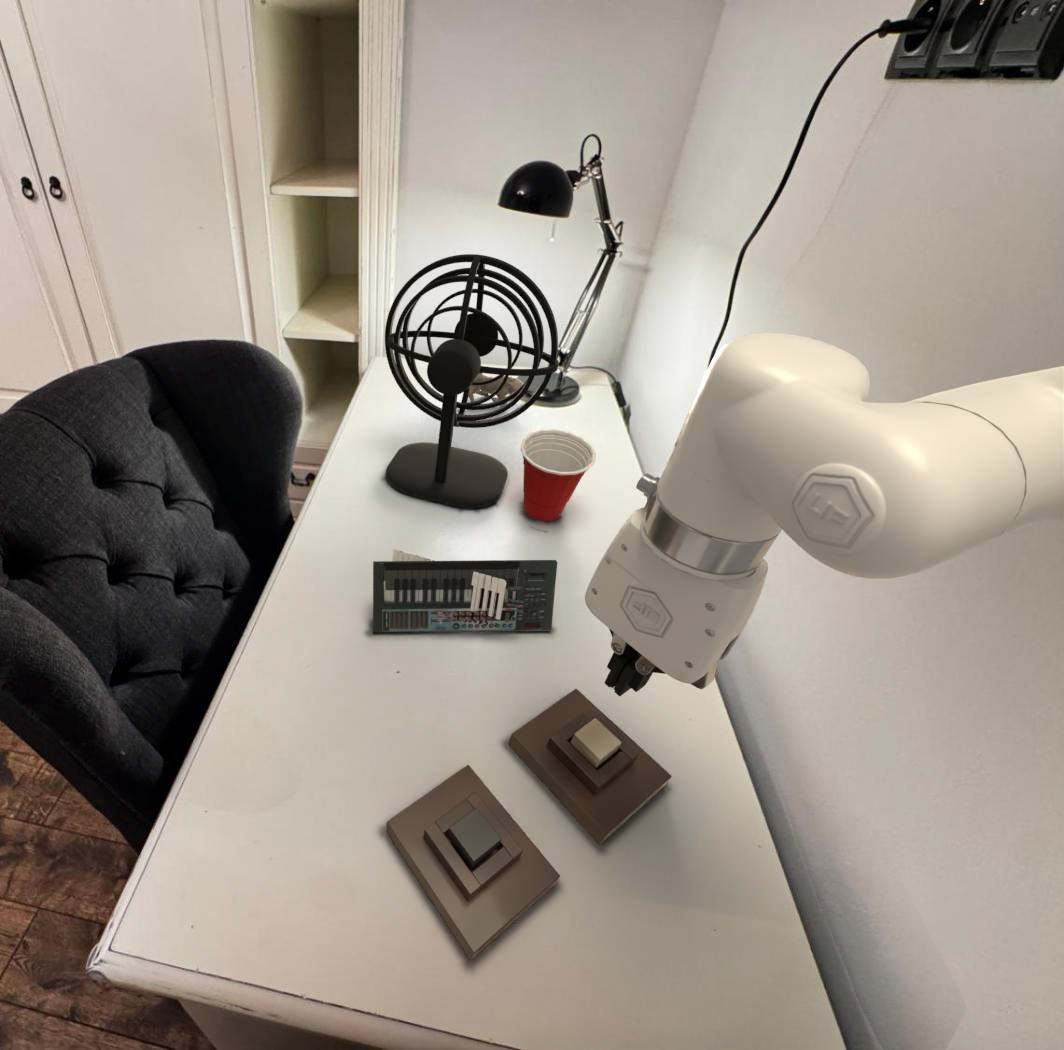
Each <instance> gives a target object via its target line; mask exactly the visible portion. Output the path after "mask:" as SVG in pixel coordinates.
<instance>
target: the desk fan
mask: <svg viewBox="0 0 1064 1050" xmlns="http://www.w3.org/2000/svg"><path fill="white" fill-rule="evenodd" d="M458 263H471V264H470V267H461V268H457V269H453V270H450V271H447V272H444V273H442V274H440V275H438V276H436V277H435V278H433V279H432V280H430V282H428V283H427V284H426V285H425V286H424V287H422V289H421V290H419V291H418V292H417V293H416V294H415V295H414V296H413V297H412V298H411V299H410V300H409V302H408V303H407V304H406V306H405V307H404V309H403V310H402V312H401V313H400V316H399V318H398V321H397V324H396V327H395V331H394V332H393V327H394V326H393V325H394V321H395V316H396V313H397V310H398V308H399V306H400V303H401V302H402V300H403V299H404V296H405V295H406V294H407V292H408V291H409V289H411V287H412V286H413V285H414V284H415V283H416V282H417V281H418V280H419V279H421V278H422V277H423V276H425V275H426V274H428V273H430V272H432V271H434V270H436V269H439V268H441V267H444V266H449V265H453V264H458ZM486 266H490V267H494V268H496V269H499V270H501V271H504V272H506V273H507V274H509V275H510V276H511V277H513V278H515V279H516V280H518V281H519V282H520V283H521V284H522V285H524V286H525V287H526V288H527V290H529V292H531V294H532V295H533V296H534V298H535V299H536V300H537V302H538V303H539V306H540V307H541V309H542V311H543V314H544V316H545V319H546V322H547V326H548V328H549V334H550V354H549V353H547V352H545V351H544V348H545V332H544V325H543V321H542V319H541V315H540V312H539V310H538V308H537V306H536V304H535V302H534V300H533V299H532V298H531V296H529V294H528V292H527V291H525V290H524V289H523V287H522V286H520V285H519V284H518V283H517V282H516V281H514V280H513V279H511V278H509V277H508V276H506V275H504V274H502V273H501V272H498V271H495V270H491V269H487V268H486ZM486 277H488V278H486ZM489 278H491V279H489ZM492 279H493V280H492ZM495 280H497V281H499V282H500V283H499V282H497V281H495ZM453 283H465V287H464V288H465V289H462V290H458V291H456V292H454V293H452V294H450V295H448V296H447V297H446V298H444V299H443V300H442V301H441V302H440V303H439V304H438V305H437V306H436V307H435V309H434V310H433V312H432V313H431V314H430V315H428V316H427V317H426V318H425V319H424V320H423V321H422V323H421V324H420V325H419V326H418V327H417V329H416V330H409V326H410V321H411V317H412V315H413V312H414V310H415V308H416V306H417V304H418V302H419V301H420V300H421V298H422V297H423V296H424V295H426V293H428V292H430V291H432V290H434V289H436V288H439V287H441V286H444V285H447V284H453ZM501 283H503V284H504V285H505V286H504V285H502V284H501ZM475 284H477V288H474V285H475ZM506 286H507V287H509V288H510V289H512V291H511V290H510V289H508V288H507V287H506ZM485 287H488V288H490V289H493V290H494V291H496V292H498V293H499V294H501V295H503V296H504V297H505V298H506V299H508V300H509V301H510V302H511V303H512V304H513V305H514V306H515V307H516V308H517V309H518V310H519V312H520V313H521V315H522V317H523V318H524V320H525V321H526V324H527V326H528V329H529V332H530V334H531V338H532V344H533V347H530V346H528V345H523V339H524V336H523V334H524V333H523V327H522V323H521V320H520V318H519V316H518V314H517V312H516V311H515V308H513V306H512V305H511V304H510V303H509V302H508V301H507V300H505V299H504V298H503V297H502V296H500V295H499V294H497V293H495V292H492V291H490V290H487V289H485ZM513 291H514V292H515V293H516V294H517V295H518V296H519V297H520V298H521V299H520V298H519V297H518V296H517V295H516V294H515V293H514V292H513ZM472 294H476V306H475V307H473V306H472V307H471V306H470V302H471V298H472V297H471V296H472ZM462 295H463V298H462V303H461V305H453V306H446V307H443V306H444V305H445V304H446V303H447V302H448V301H450V300H452V299H453V298H456V297H458V296H462ZM484 296H488V297H491V298H492V299H494V300H496V301H497V302H499V303H500V304H501V305H503V306H504V307H505V309H507V310H508V312H509V313H510V314H511V316H512V318H513V320H514V322H515V324H516V328H517V332H518V333H517V334H518V343H516V342H512V341H510V340H509V338H508V336H507V334H506V331H505V330H504V329H503V327H502V326H501V325H500V323H499V322H497V320H496V319H495V318H494V317H492V316H491V315H490V314H488V313H486V312H484V311H483V307H484V304H483V303H484ZM547 299H548V298H547V297H546V295H544V293H543V291H542V290H541V288H539V286H538V285H537V284H536V283H535V282H534V281H533V280H532V279H531V277H529V276H528V275H527V274H525V273H524V272H523V271H522V270H520V269H519V268H517V267H516V266H514V265H512V264H511V263H509V262H506V261H504V260H502V259H500V258H496V257H493V256H489V255H485V254H475V253H474V254H472V253H467V254H463V253H462V254H455V255H451V256H447V257H444V258H441V259H438V260H436V261H433V262H431V263H429V264H428V265H426V266H424V267H423V268H421V269H420V270H418V271H417V272H416V273H415V274H414V275H413V276H412V277H410V278H409V280H408V281H406V282H405V284H404V285H403V286H402V287H401V288H400V290H399V291H398V293H397V294H396V296H395V298H394V300H393V302H392V304H391V306H390V308H389V312H388V315H387V318H386V322H385V329H384V347H385V355H386V359H387V364H388V366H389V370H390V372H391V375H392V377H393V379H394V381H395V382H396V384H397V386H398V387H399V389H400V391H401V392H402V393H403V394H404V396H405V397H406V398H407V399H408V400H409V401H410V402H411V403H412V404H413V405H414V406H415V407H416V408H417V409H418V410H420V411H421V412H423V413H424V414H426V415H427V416H429V417H430V418H433V419H435V420H436V421H439V422H440V423H439V430H438V431H439V432H438V442H427V441H426V442H413V443H409V444H406V445H403V446H401V447H400V448H399V449H398V450H397V451H396V453H395V454H394V456H393V457H392V459H391V461H389V463H388V465H387V467H386V469H385V478H386V480H387V482H388V483H389V484H390V485H391V486H392V487H394V488H395V489H396V490H398V491H400V492H402V493H405V494H407V495H410V496H414V497H418V498H422V499H426V500H431V501H434V502H438V503H441V504H442V503H443V504H447V505H450V506H453V507H460V508H470V509H471V508H483V507H487V506H491V505H493V504H494V503H496V502H497V501H499V499H500V497H501V494H502V491H503V489H504V487H505V484H506V482H507V479H508V475H509V473H508V468H507V467H506V466H505V464H504V463H502V462H501V461H500V460H498V459H497V458H495V457H493V456H490V455H489V454H485V453H481V452H478V451H474V450H470V449H465V448H460V447H457V446H456V447H455V446H452V444H453V443H452V442H453V435H454V429H455V428H466V429H482V428H490V427H494V426H495V427H496V426H498V425H502V424H504V423H507V422H509V421H512V420H513V419H515V418H517V417H519V416H520V415H522V414H523V413H525V411H527V410H528V409H530V408H531V407H532V406H533V405H534V404H535V402H536V401H537V400H538V399H539V398H540V397H541V395H542V394H543V392H544V391H545V389H546V388H547V386H548V384H549V381H550V380H551V378H552V375H553V374H554V373H556V372H557V371H558V370H559V369H558V368H559V364H560V362H559V360H558V359H557V358H558V351H559V334H558V326H557V322H556V318H555V315H554V311H553V310H552V307H551V305H550V303H549V301H548V300H547ZM522 300H523V301H522ZM523 302H524V303H525V304H526V306H525V304H524V303H523ZM442 307H443V308H442ZM527 307H528V308H527ZM453 311H455V312H456V311H459V312H460V316H459V320H458V321H457V323H456V326H455V327H454V331H453V332H452V331H440V330H432V326H433V322H434V319H435V317H437V316H439V315H442V314H444V313H448V312H453ZM427 323H428V324H427ZM426 324H427V329H426V330H422V329H423V328H424V326H425V325H426ZM499 335H500V336H501V338H502V339H499ZM409 338H412V341H411V344H410V346H409ZM418 338H426V344H427V349H428V352H429V355H427V354H423V353H419V352H416V351H415V349H416V344H417V340H418ZM431 338H437V339H438V338H439V339H448V340H445V341H443V342H442V343H441V344H439V345H438V347H437V348H436V349H435V351H434V349H433V346H432V339H431ZM401 341H402V342H401ZM400 343H402V344H400ZM401 345H402V346H401ZM496 347H502V348H506V352H507V368H505V367H495V366H485V365H482V360H481V358H482V357H484V356H487V355H489V354H491V352H492V351H494V349H495V348H496ZM512 350H513V351H516V354H515V355H514V359H513V354H512ZM521 352H522V353H525V354H528V355H531V356H533V359H532V360H533V362H532V366H531V368H513V367H514V366H515V364H516V363H517V361H518V359H519V356H520V355H521ZM402 355H403V356H404V359H405V362H406V364H407V367H408V369H409V371H410V373H411V375H412V377H413V378H414V380H415V381H416V382H417V383H418V385H419V386H420V387H421V388H422V389H423V390H424V391H425V392H426V393H427V394H428V395H429V396H430V397H432V398H433V399H435V401H436V400H437V401H438V402H440V403H441V404H442V405H441V407H440V406H438V405H435V404H434V403H433V402H431V401H429V400H428V399H427V398H425V396H424V395H422V394H421V393H420V392H419V390H418V389H417V388H416V387H415V386H414V384H413V383H412V381H411V380H410V378H409V376H408V374H407V372H406V370H405V367H404V364H403V360H402ZM416 360H417V361H420V362H424V363H428V364H427V368H426V376H427V380H428V382H429V384H430V385H431V386H432V387H431V386H430V385H429V384H428V383H427V382H426V381H425V379H424V378H423V377H422V376H421V374H420V372H419V371H418V368H417V364H416ZM542 360H543V361H545V362H546V363H548V366H544V367H540V365H541V361H542ZM479 373H482V374H487V375H488V374H489V375H496V376H493V377H494V378H492V379H489V380H485V381H474V380H475V379H476V377H477V376H478V374H479ZM503 376H505V377H504V380H503V381H502V383H501V384H500V386H499V387H498V388H497V389H496V390H495V391H494V392H493V393H492V394H489V396H487V397H484V398H482V399H478V400H475V402H471V401H469V402H468V400H469V397H468V396H469V391H470V386H471V385H485V384H489V383H492V382H494V381H496V380H498V379H500V378H502V377H503ZM509 376H512V377H527V378H526V379H525V381H524V382H522V383H523V384H522V385H521V386H520V387H519V388H518V389H517V390H516V391H514V392H513V393H511V394H510V395H509V394H508V395H506V397H505V398H503V399H500V400H498V401H495V402H493V401H492V402H491V401H490V400H491V398H495V396H497V395H496V394H497V393H498V392H499V391H500V390H501V389H502V387H503V386H504V384H505V383H506V381H507V379H508V377H509ZM539 376H544V378H543V380H542V382H541V384H540V385H539V386H538V388H537V389H536V391H535V392H533V394H532V395H531V396H530V397H529V398H528V399H526V401H525V402H524V403H522V404H521V405H520V406H518V407H517V408H515V409H514V410H512V411H510V412H508V413H507V414H504V415H501V414H503V413H505V412H507V411H508V410H510V409H511V408H513V407H514V406H515V405H516V404H517V403H518V402H520V400H522V398H524V397H523V396H524V394H525V395H526V393H527V392H528V390H529V389H530V387H531V385H532V383H533V381H534V379H535V377H539ZM461 394H462V397H461V401H458V395H461ZM488 401H490V402H488ZM486 402H487V403H486ZM505 403H507V404H506V405H504V406H502V407H500V405H503V404H505ZM497 407H499V408H497ZM494 408H496V409H494ZM458 409H459V410H458ZM490 409H494V410H491V411H488V412H484V413H479V414H466V413H465V412H466V411H484V410H490ZM499 415H501V416H499ZM496 416H498V417H496Z"/></svg>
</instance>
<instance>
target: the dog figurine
mask: <svg viewBox="0 0 1064 1050" xmlns="http://www.w3.org/2000/svg"><path fill="white" fill-rule="evenodd" d="M494 377H495V376H488V375H485V374H484V373H479V374H478V376H477V377H476V379H475V380H474V381H485V380H489V379H492V378H494ZM504 377H505V375H504V376H503V377H502V378H500V379H498V380H496V381H494V382H492V383H489V384H485V385H471V386H470V391H469V396H468V400H469V402H475V401H476V400H475V397H474V395H475V394H476V395H480V396H481V397H484V398H486V397H487V396H489V395H490V394H492V393H493V392H494V391H495V390H496V389H497V388H498V387H499V386H500V384H501V383H502V381H503V380H504ZM523 383H524V382H523V381H521V380H520V379H519V378H517V377H515V376H508V379H507V381H506V383H505V384H504V386H503V387H502V389H501V390H500V391H499V392H498V393H497V394H496V395H495V396H496V397H493V398H491V399H490V400H491V401H492V402H495V401H498V400H500V399H503V398H505V397H507V396H508V395H510V394H511V393H513V392H514V391H516V390H517V389H518V388H519V387H520V386H521V385H522V384H523ZM526 397H527V395H526V393H525V394H524V396H523V397H522V398H526ZM507 403H508V402H507ZM507 403H505V404H503V405H500V406H499V408H501V407H502V406H504V405H506V404H507Z"/></svg>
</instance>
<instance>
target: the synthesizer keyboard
mask: <svg viewBox="0 0 1064 1050" xmlns="http://www.w3.org/2000/svg"><path fill="white" fill-rule="evenodd" d="M557 571H558V561H557V560H556V559H526V560H525V559H515V560H514V559H507V560H506V559H505V560H504V559H503V560H500V559H499V560H496V559H495V560H494V559H493V560H492V559H491V560H490V559H489V560H434V559H431V558H426V557H425V556H420V555H417V554H413V553H409V552H406V551H402V550H398V549H396V548H395V549H393V551H392V560H384V561H383V560H382V561H381V560H380V561H379V560H376V561H374V560H373V561H372V633H436V632H437V633H443V632H445V633H446V632H449V633H450V632H451V633H452V632H534V631H535V632H536V631H537V632H538V631H541V632H545V631H547V632H548V631H549V632H550V631H552V627H553V616H554V605H555V595H556V594H555V593H556V582H557Z"/></svg>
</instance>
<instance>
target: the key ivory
mask: <svg viewBox="0 0 1064 1050" xmlns="http://www.w3.org/2000/svg"><path fill="white" fill-rule="evenodd" d="M570 743H571V744H572V745H573V746H574V747H575V748H576V749H577V750H578V751H579V752H580V753H581V754H582V755H583V756H584V757H585V758H586V759H587V760H588V761H589V762H590V763H591V764H592V765H593V766H594V767H595V768H597V767H598V766H599V765H601V764H602V763H603V762H604V761H606V760H607V759H608V758H609V757H611V756H612V755H613V754H614V753H615V752H617V750H618V748H619V746H620V745H621V741H619V740H618V739H617V738H616V737H615V736H614V735H613V734H612V733H611V732H610V731H609V730H608V729H607V728H605V727H604V726H603V725H602V724H601V723H600V722H599V721H598V720H597V719H596V718H595V719H593V720H592V721H591V722H589V723H588V724H587V725H585V726H584V727H583V728H581V729H580V730H579V731H577V732H576V733H575V734H574V736H573V738H572V740H571V742H570Z"/></svg>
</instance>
